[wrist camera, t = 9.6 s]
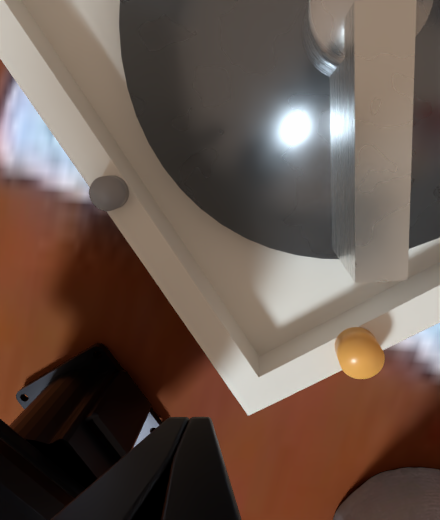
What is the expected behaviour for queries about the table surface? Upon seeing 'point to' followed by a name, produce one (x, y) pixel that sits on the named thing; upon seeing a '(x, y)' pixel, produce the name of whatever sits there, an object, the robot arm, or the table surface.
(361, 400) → the table surface
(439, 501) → the pillar candle
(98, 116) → the dial housing
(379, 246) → the dial
